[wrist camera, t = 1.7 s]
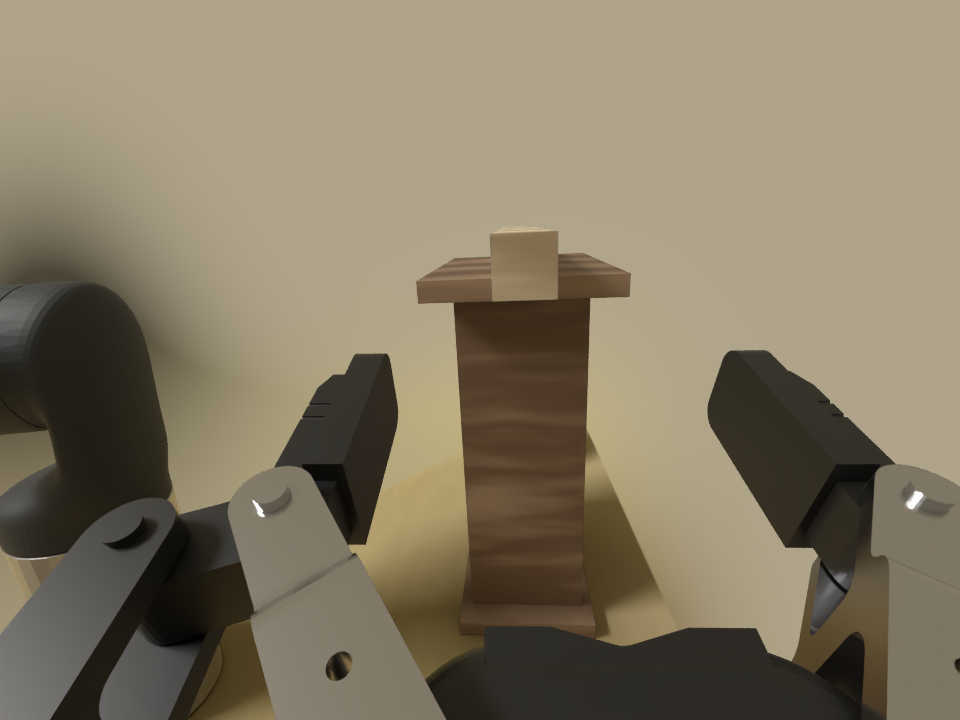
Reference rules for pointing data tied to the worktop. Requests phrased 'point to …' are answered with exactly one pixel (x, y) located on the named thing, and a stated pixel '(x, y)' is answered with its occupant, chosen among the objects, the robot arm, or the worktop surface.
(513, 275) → the bar
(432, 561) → the worktop surface
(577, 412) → the stand
